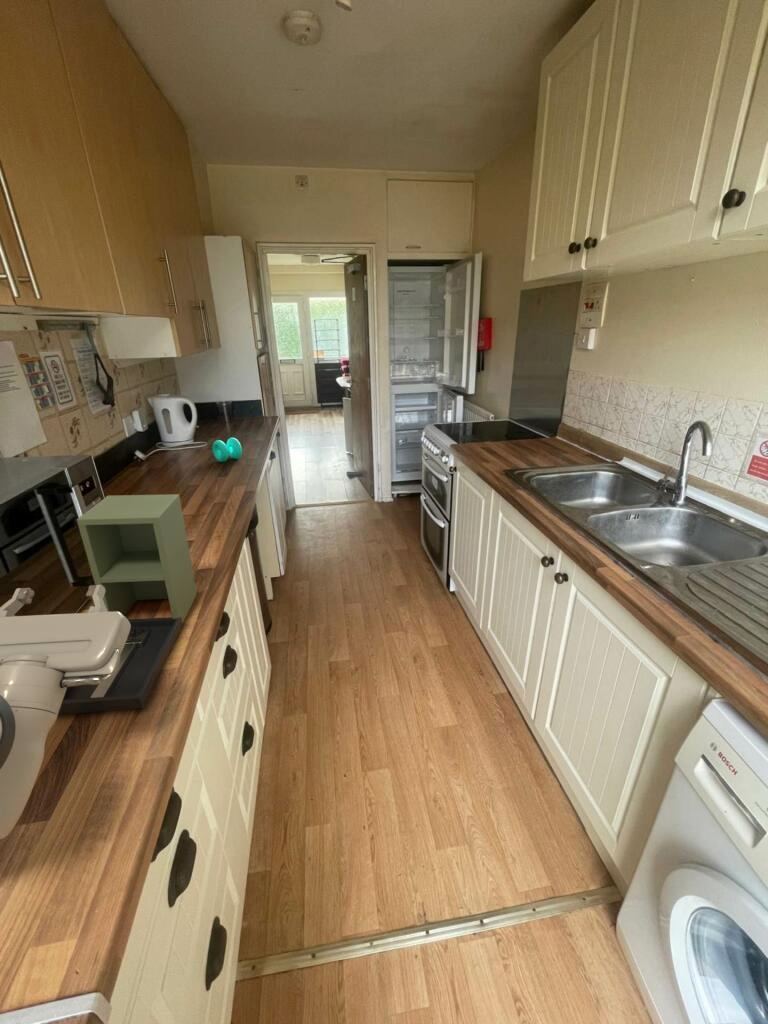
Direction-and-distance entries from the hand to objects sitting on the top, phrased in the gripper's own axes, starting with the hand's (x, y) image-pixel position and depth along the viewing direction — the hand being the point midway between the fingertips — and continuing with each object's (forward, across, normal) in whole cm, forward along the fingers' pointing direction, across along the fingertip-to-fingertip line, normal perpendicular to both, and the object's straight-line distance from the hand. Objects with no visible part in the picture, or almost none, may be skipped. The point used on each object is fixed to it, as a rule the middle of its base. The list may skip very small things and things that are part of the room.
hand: (62, 588), depth 61 cm
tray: (-3, 0, +24) cm, 25 cm away
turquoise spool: (+111, +9, +91) cm, 144 cm away
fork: (-4, 0, +23) cm, 23 cm away
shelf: (+11, 0, +32) cm, 34 cm away
